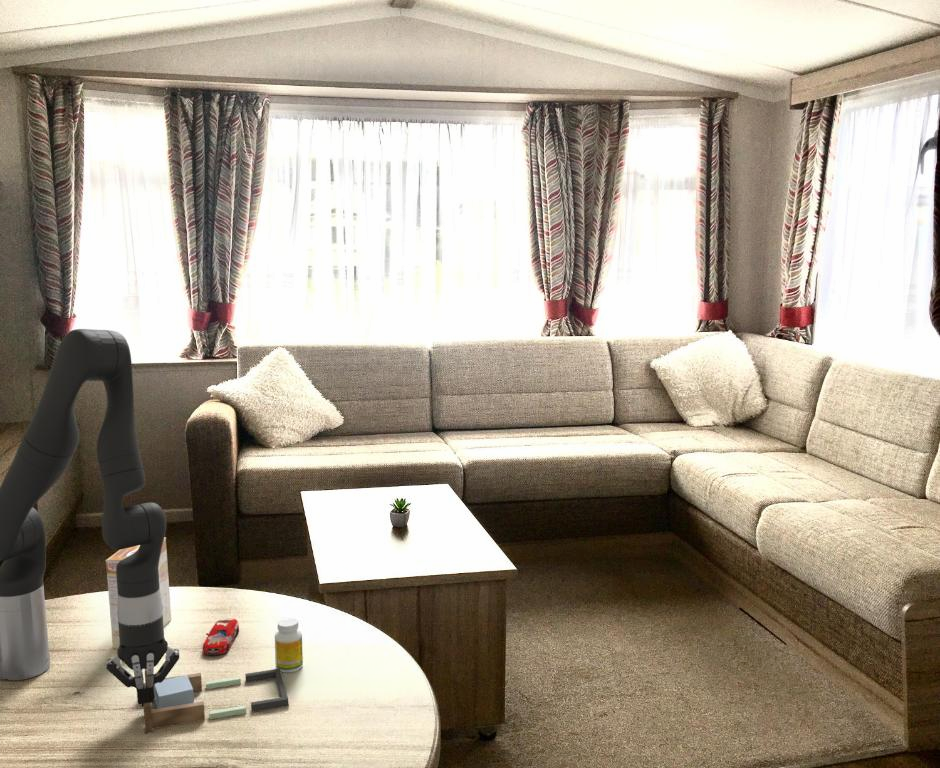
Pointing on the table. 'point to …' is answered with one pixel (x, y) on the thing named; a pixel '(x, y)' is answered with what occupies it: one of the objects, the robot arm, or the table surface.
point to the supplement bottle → (288, 646)
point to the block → (173, 692)
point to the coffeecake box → (113, 592)
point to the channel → (175, 710)
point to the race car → (221, 637)
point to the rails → (228, 710)
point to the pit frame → (271, 702)
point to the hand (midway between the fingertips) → (146, 704)
